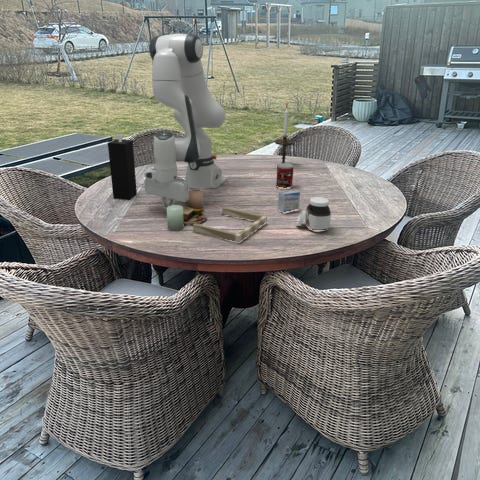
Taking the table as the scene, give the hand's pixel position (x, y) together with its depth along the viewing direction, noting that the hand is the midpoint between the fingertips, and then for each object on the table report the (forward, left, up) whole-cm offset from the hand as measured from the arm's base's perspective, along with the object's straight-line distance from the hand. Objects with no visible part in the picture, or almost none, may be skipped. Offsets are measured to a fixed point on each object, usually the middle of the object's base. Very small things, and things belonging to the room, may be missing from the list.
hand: (167, 207), depth 182 cm
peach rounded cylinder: (-11, +6, -2) cm, 13 cm away
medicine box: (-28, +41, -2) cm, 50 cm away
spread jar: (-16, +56, -2) cm, 59 cm away
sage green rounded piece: (+11, +12, -2) cm, 17 cm away
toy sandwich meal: (+2, +12, -3) cm, 12 cm away
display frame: (0, +29, -2) cm, 29 cm away
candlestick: (-91, +10, -2) cm, 92 cm away
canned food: (-57, +26, -2) cm, 63 cm away
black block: (-5, -28, -2) cm, 28 cm away
